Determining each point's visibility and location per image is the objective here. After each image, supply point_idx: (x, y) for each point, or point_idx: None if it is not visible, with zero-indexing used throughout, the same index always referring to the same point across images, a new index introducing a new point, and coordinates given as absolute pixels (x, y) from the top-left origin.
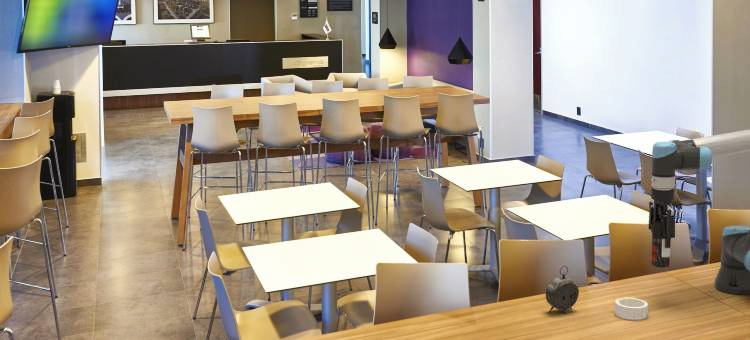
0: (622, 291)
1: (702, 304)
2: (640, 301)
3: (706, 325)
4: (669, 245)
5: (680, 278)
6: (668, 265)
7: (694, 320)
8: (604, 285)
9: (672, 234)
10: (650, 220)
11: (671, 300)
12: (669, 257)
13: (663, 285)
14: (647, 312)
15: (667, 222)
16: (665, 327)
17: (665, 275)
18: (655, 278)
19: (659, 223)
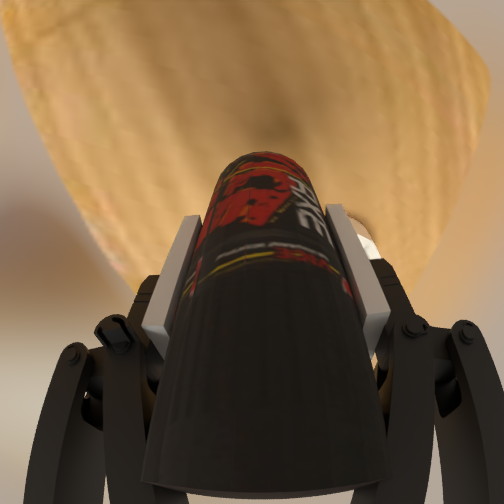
0: (145, 206)
1: (291, 14)
2: None
3: (446, 112)
4: (393, 281)
5: (48, 24)
6: (304, 172)
7: (413, 117)
8: (103, 234)
9: (465, 362)
10: (104, 460)
11: (236, 90)
12: (301, 181)
13: (93, 75)
14: (366, 230)
15: (457, 496)
16: (424, 211)
17: (26, 61)
18: (43, 89)
19: (300, 496)
